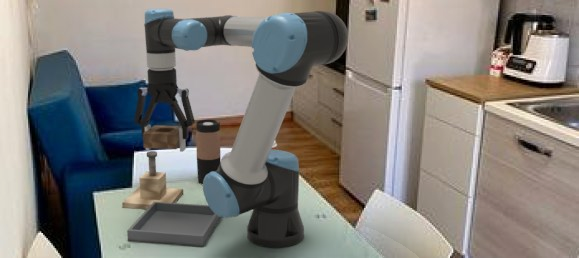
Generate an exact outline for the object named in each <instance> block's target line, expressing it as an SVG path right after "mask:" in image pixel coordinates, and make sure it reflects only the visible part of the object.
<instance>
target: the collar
mask: <svg viewBox="0 0 579 258" xmlns="http://www.w3.org/2000/svg"><path fill="white" fill-rule="evenodd" d="M180 127H181V125H180V126H178V125H158V124H157V125H156V124H155V125H153V126H151V128H150V129H149V130H147V131H146V132H144V133H143V137H142V141H143V149H146V148H151V149H160V150H161V149H163V150H177V149H178V148H180V140H179V128H180ZM185 142H187V139H185Z"/></svg>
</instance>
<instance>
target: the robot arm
mask: <svg viewBox="0 0 579 258" xmlns="http://www.w3.org/2000/svg"><path fill="white" fill-rule="evenodd" d="M143 27H144V35H145V38H144V39H145V51H146V67H147V68H148V69H147V72H146V73H147V82H148V83H147V84H148V85H147V87H143V86H141V87H140V88H138V89H137V90H136V92H137V102H136V107H135V108H136V109H135V112H134V113H135V114H134V119H133V123H134V124H136V125H139V126H140V129H141V137H142V138H143V133H144V132H146V131H147V130H149V129H150V128H152V125H151V124H149V123H150V119H151V117H152V115H153V113H154V110H155V108H156V107H157V104H160V103H163V104H168V106H169V107H170V108H171V109H172V112H173V113H174V115H175V117H176V119H177V121H178V122H179V124H180V126H181V127H180V128H179V140H180V146H179V152H180V153H181V152H184V151H185V150H187V148H186V146H187V145H186V141H185V139H186V140H187V139H188V138H189V137H190V136H189V127H192V126H193V125H194V124H196V121H195V116H194V113H193V109H192V106H191V102H190V99H189V89H188V88H184V89H183V88H179V86H178V83H177V81H178V80H177V69H176V68H175V67H176V66H177V61H176V49H179V50H183V51H187V52H188V51H198V50H200V49H201V48H208V47H213V46H215V47H216V46H230V47H231V46H232V47H235V46H236V47H237V46H238V47H247V48H249V47H250V48H251V49H253V51H252V52H251V53H252V54H251V55H252V57H253V60H254V62H255V69H256V71H257V72H258V76H257V79H256V82H255V85H254V87H253V91H252V93H251V95H250V98H249V101H248V103H247V107H246V109H245V111H244V115H243V118H242V120H241V123H240V126H239V129H238V130H237V134H236V137H235V139H234V142H233V145H232V148H231V151H229V152H228V151H227V153H224V155H222V157H221V158H220V165H219V167H218V170H217V171H215V172H214V171H212V172H210V173H209V174H207V175H206V176H205V178H204V181H203V185H202V189H203V190H202V191H203V196H204V198H205V201H206V203H207V205H209V207H210V208H211V210H212V211H213V212H214V213H215V214H216V215H218V216H219V217H221V219H222V218H223V219H229V218H233V217H234V218H235V217H238V216H240V215H242V214H245V213H247V212H250V211H252V212H251V214H250V217H249V221H248V223H247V225H246V237H247V239H248V240H249V241H250V242H251V243H253V244H255V245H257V246H261V247H264V248H274V249H276V248H279V249H280V248H287V247H291V246H294V245H296V244H299V243H300V242H302V240H303V239H304V238H305V226H304V223H303V220H302V217H301V214H300V211H299V189H300V188H299V186H300V184H299V183H300V166H299V164H300V163H299V158H298V157H297V156H296V154H294V153H291V152H289V151H285V150H280V149H276V150H273V149H272V146H273V144H274V141H276V138H277V136H278V134H279V131H280V129H281V127H282V124H283V121H284V120H285V117H286V114H287V112H288V109H289V107H290V104H291V102H292V98H293V97H294V94H295V93H296V89H298V88H300V87H303V86H304V85H306V83H307V81H308V79H309V76H310V73H311V71H312V69H313V68H314V67H317V66H318V67H319V66H323V65H328V64H331V63H334V62H335V61H337V60H338V59H340V57H341V56H342V55H343V53H344V52H345V51H346V48H347V46H348V43H349V33H348V32H349V31H348V29H347V26H346V24H345V22H344V21H343V20H342V19H341V18H340V17H339V16H338V15H337V14H335V13H333V12H330V11H326V10H316V11H305V12H304V11H303V12H294V13H293V12H281V13H278V14H275V15H274V14H273V15H269V16H267V17H264V16H238V15H232V14H231V15H230V14H228V15H227V14H226V15H222V16H221V15H220V16H209V17H208V16H207V17H193V18H175V15H174V10H173V9H169V8H152V9H151V8H150V9H147V10H145V12H144V24H143ZM148 94H149V96H150V97H151V98H150V100H149V103H148V106H147V108H146V111H145V113H144V109H145V102H146V96H147V95H148ZM178 94H179V97H180V98H181V100H180V101H181V104H182V106H183V107H182V108H183V109H182V108H181V106H180V105H179V102H178V100H177V98H176V96H177V95H178ZM183 111H184V113H185V114H184V113H183ZM151 149H152V148H145V151H149V150H151Z"/></svg>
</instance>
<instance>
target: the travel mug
mask: <svg viewBox="0 0 579 258" xmlns="http://www.w3.org/2000/svg"><path fill="white" fill-rule="evenodd" d="M195 125H196V126H195V127H196V130H195V134H196V136H195V137H196V168H197V169H196V170H197V182H198V183H199V184H200V183H201V184H200V185H202V184H203V181H204V178H205V176H206V175H207V174H209V173H210V172H212V171H214V172H215V171H217V170H218V167H219V165H220V162H221V123H220V122H218V121H217V120H216V119H210V118H209V119H201V120H198V121H195Z"/></svg>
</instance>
